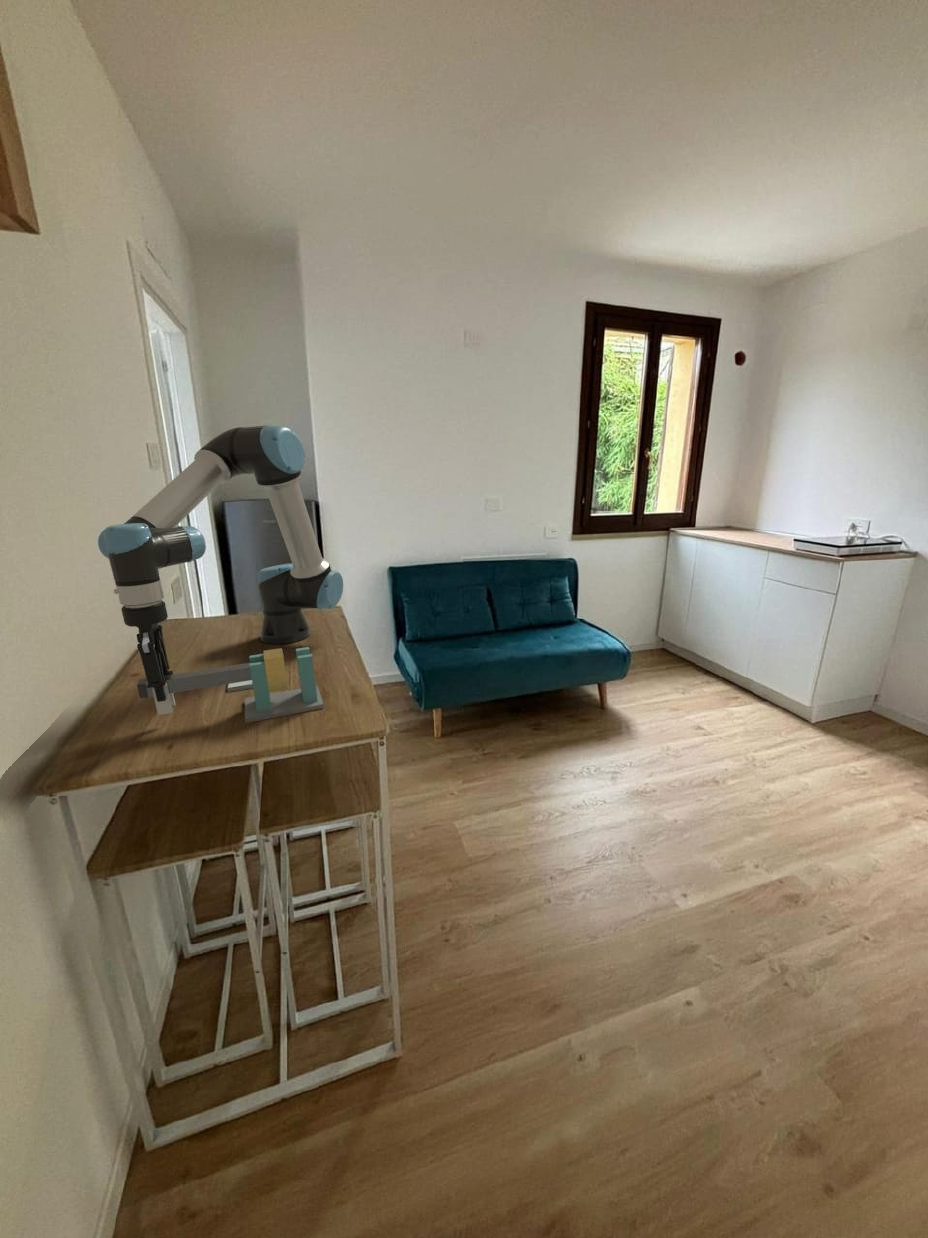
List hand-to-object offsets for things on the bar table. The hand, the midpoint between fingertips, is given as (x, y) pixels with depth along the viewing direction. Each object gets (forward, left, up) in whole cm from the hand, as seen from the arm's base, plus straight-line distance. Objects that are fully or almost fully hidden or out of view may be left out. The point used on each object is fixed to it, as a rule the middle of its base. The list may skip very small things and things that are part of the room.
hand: (166, 709), depth 109 cm
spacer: (0, +22, +1) cm, 23 cm away
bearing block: (0, +23, -4) cm, 23 cm away
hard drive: (-20, +15, -5) cm, 25 cm away
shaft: (0, +9, +4) cm, 10 cm away
